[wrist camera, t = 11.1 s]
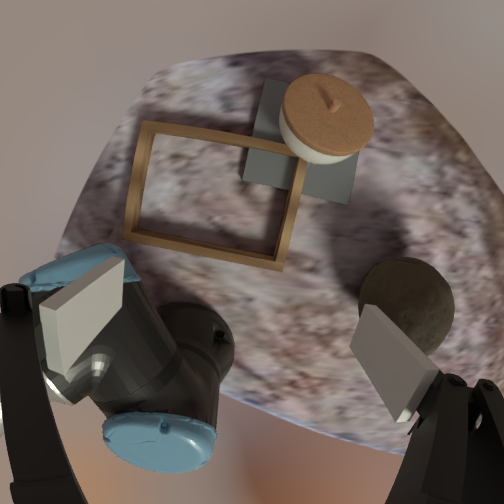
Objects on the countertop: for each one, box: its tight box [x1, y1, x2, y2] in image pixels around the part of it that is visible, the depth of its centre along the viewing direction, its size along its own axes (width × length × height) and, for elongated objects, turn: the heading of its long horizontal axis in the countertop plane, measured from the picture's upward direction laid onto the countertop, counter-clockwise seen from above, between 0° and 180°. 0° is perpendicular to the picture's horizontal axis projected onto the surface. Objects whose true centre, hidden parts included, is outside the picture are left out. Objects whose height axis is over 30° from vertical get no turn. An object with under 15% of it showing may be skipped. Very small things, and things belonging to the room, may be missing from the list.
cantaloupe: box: [358, 257, 455, 356], centre depth 36 cm, size 14×14×15 cm
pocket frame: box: [122, 120, 308, 272], centre depth 38 cm, size 16×22×3 cm
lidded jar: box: [279, 73, 374, 165], centre depth 31 cm, size 11×11×9 cm
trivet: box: [242, 78, 359, 205], centre depth 37 cm, size 15×15×1 cm
